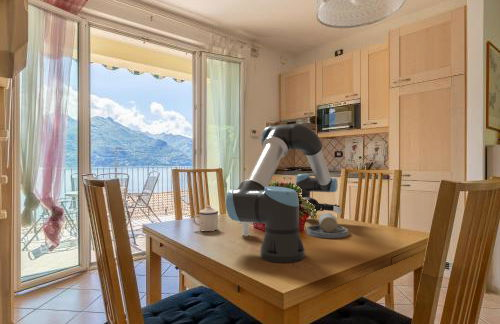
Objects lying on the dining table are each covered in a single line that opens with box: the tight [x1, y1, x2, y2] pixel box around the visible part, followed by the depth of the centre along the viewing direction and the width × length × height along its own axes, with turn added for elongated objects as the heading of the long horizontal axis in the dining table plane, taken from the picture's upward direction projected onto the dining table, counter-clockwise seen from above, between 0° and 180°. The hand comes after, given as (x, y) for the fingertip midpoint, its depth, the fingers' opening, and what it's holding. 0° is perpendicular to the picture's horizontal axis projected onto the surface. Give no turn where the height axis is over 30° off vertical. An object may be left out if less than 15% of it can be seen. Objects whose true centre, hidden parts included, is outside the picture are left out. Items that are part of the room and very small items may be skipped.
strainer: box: [236, 221, 254, 237], centre depth 131 cm, size 7×7×15 cm
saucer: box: [306, 224, 350, 240], centre depth 133 cm, size 18×18×2 cm
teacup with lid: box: [192, 205, 219, 231], centre depth 142 cm, size 12×9×12 cm
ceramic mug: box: [318, 212, 344, 233], centre depth 131 cm, size 11×8×8 cm
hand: (326, 211), depth 134 cm, fingers open, 13 cm apart
